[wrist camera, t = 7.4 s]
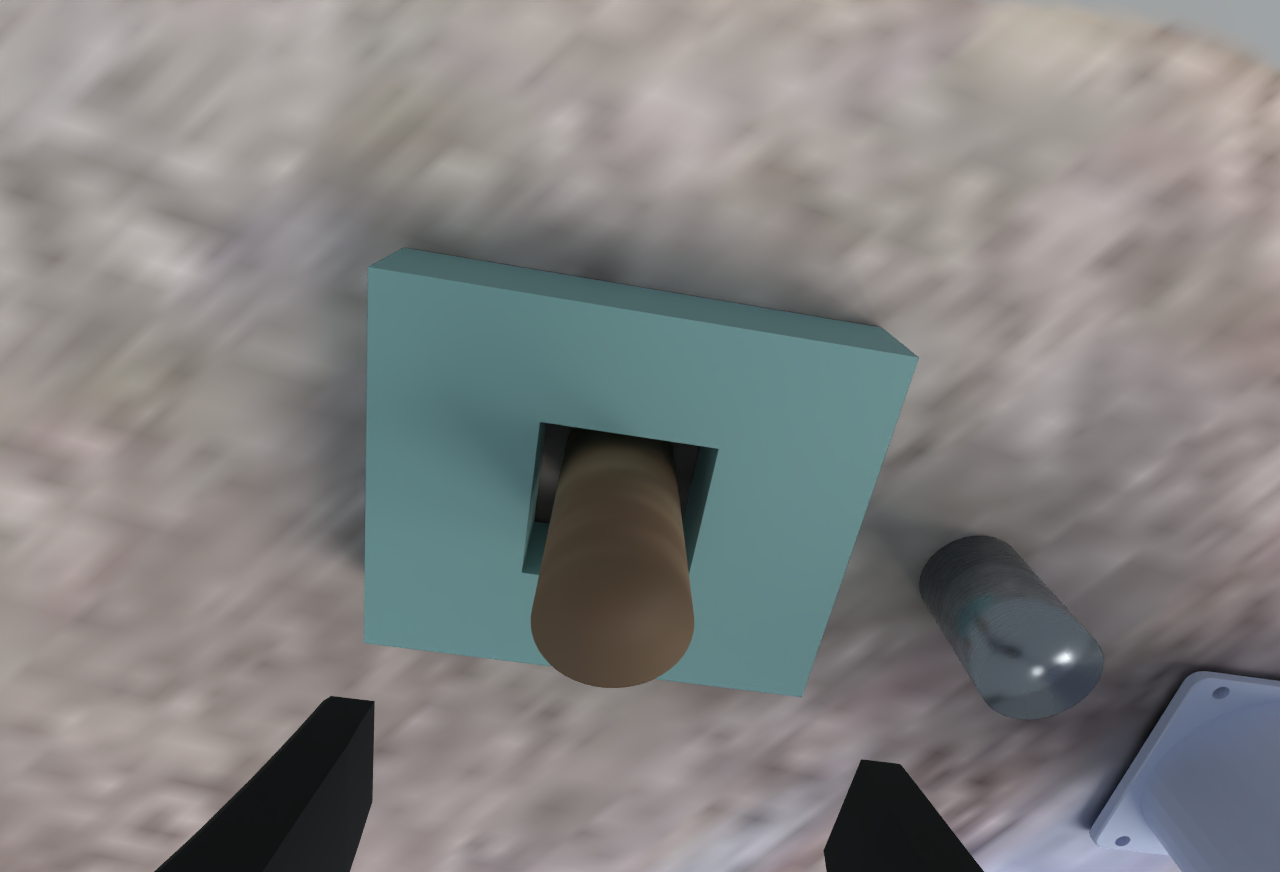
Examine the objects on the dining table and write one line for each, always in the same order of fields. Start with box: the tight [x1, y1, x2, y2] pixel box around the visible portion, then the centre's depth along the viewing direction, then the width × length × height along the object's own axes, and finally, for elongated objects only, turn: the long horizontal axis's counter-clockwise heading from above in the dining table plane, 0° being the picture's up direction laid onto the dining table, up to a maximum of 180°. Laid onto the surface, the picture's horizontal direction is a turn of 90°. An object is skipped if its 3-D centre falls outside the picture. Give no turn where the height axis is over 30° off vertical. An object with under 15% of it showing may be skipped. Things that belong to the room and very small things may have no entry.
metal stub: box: [920, 536, 1103, 719], centre depth 19 cm, size 3×3×4 cm
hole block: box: [364, 248, 919, 697], centre depth 18 cm, size 12×10×2 cm
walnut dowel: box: [531, 427, 694, 688], centre depth 16 cm, size 3×3×7 cm
